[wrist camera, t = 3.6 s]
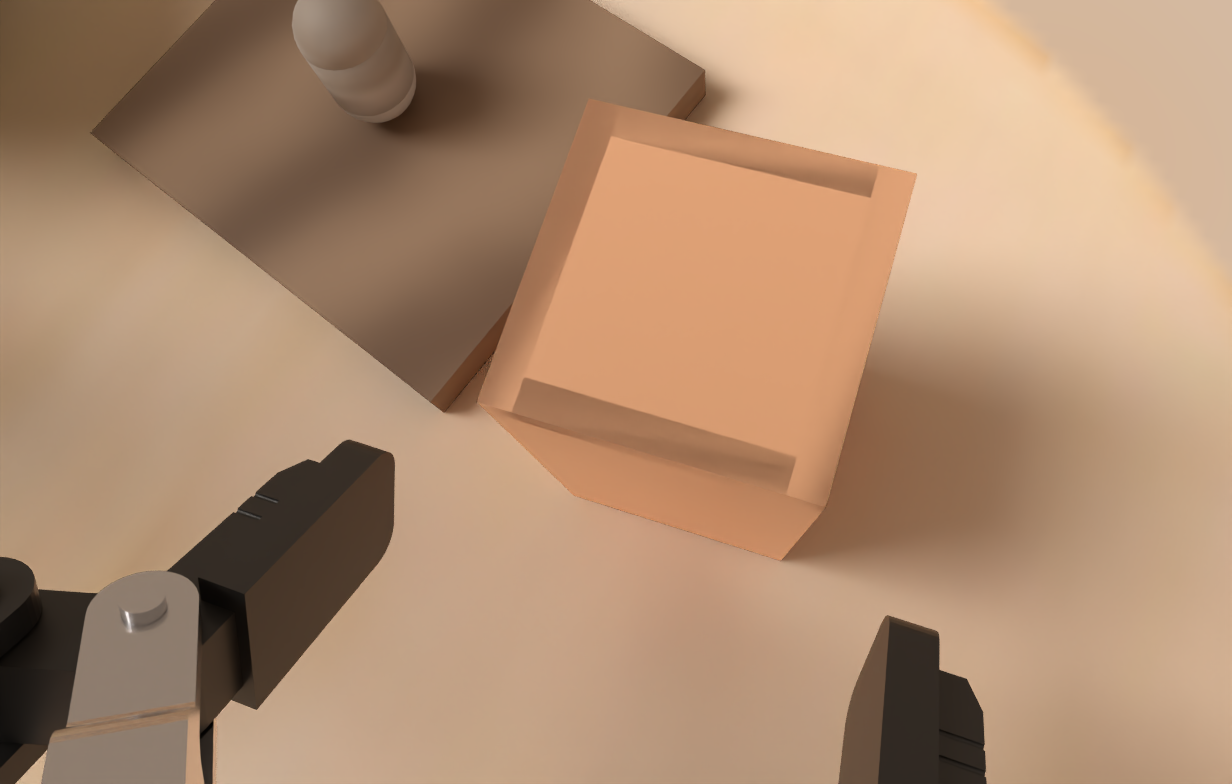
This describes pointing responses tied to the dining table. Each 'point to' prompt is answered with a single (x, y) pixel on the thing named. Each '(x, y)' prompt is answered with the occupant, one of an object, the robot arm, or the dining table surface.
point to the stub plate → (389, 152)
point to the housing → (698, 323)
